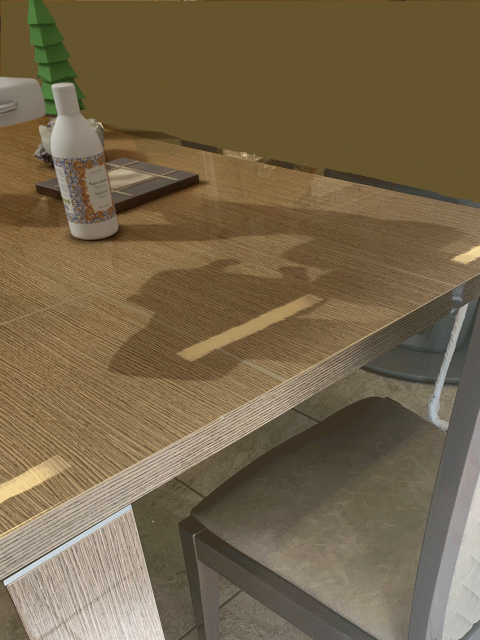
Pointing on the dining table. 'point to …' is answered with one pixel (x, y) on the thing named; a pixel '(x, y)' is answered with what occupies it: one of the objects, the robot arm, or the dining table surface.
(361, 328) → the dining table surface
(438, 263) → the dining table surface
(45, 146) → the geode
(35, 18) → the decorative tree
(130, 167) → the game board
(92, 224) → the bath foam
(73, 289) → the dining table surface
